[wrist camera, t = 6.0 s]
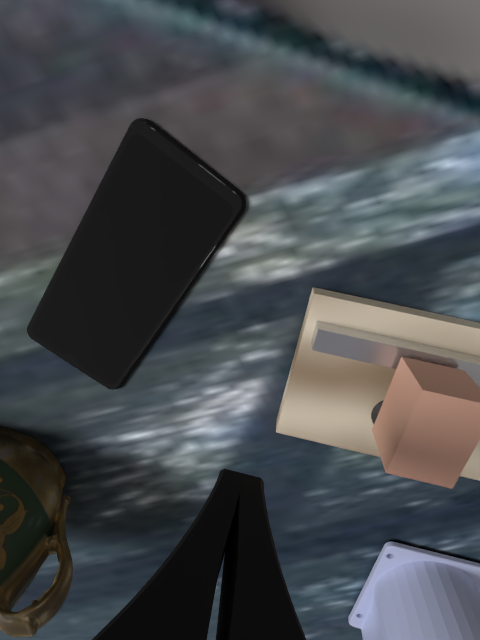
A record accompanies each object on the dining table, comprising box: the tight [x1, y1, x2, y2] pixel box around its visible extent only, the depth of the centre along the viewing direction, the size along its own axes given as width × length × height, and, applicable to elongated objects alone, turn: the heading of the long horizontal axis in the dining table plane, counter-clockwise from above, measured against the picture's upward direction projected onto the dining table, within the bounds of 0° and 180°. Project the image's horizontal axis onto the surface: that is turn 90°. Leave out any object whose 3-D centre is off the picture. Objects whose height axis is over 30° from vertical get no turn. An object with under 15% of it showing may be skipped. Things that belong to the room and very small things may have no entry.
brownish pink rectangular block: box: [372, 357, 480, 489], centre depth 17 cm, size 5×3×4 cm, turn 169°
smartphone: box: [27, 118, 246, 389], centre depth 20 cm, size 7×1×15 cm
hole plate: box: [276, 287, 480, 481], centre depth 20 cm, size 9×20×1 cm, turn 80°
